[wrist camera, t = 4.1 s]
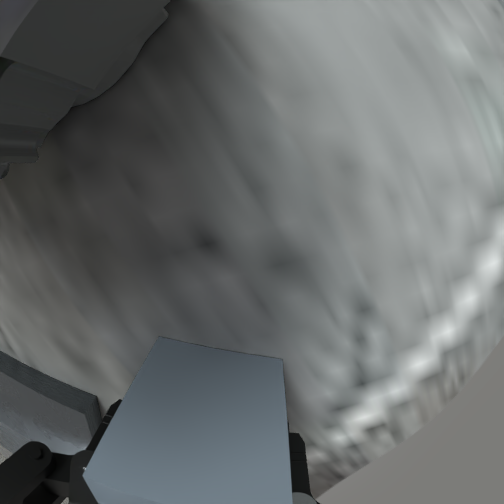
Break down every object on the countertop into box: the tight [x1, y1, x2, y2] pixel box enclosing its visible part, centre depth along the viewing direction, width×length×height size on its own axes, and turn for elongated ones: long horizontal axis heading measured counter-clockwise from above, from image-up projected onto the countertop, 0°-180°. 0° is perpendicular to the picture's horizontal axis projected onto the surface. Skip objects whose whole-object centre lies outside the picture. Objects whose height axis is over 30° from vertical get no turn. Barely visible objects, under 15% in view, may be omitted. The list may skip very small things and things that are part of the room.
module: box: [82, 336, 293, 504], centre depth 9 cm, size 6×5×7 cm
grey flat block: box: [0, 351, 102, 459], centre depth 13 cm, size 14×17×4 cm
